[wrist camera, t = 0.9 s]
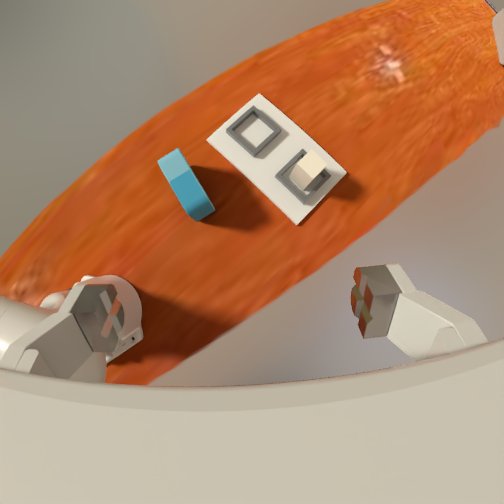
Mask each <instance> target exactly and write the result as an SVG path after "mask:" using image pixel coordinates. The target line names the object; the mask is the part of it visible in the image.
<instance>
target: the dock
mask: <svg viewBox="0 0 504 504" xmlns="http://www.w3.org/2000/svg"><path fill="white" fill-rule="evenodd" d="M207 142H208V143H209V144H211V145H212V146H213V147H214V148H215V149H216V150H217V151H218V152H219V153H220V154H222V155H223V156H224V157H225V158H226V159H227V160H228V161H229V162H230V163H231V164H232V165H234V166H235V167H236V168H237V169H238V170H239V171H240V172H241V173H242V174H243V175H244V176H245V177H246V178H248V179H249V180H250V181H251V182H252V183H253V184H254V185H255V186H256V187H257V188H258V189H259V190H260V191H261V192H262V193H263V194H264V195H266V196H267V197H268V198H269V199H270V200H271V201H272V202H273V203H274V204H275V205H276V206H277V207H278V208H279V209H280V210H281V211H282V212H283V213H284V214H285V215H286V216H287V217H288V218H289V219H290V220H291V221H292V222H293V223H294V224H296V225H298V224H299V222H300V221H301V220H302V219H303V218H304V217H305V216H306V215H307V214H308V213H309V212H310V211H311V210H312V209H313V208H314V207H315V206H316V205H317V204H318V203H319V202H320V200H321V199H322V198H323V197H324V196H325V195H326V194H327V193H328V192H329V191H330V190H331V189H332V188H333V187H334V186H335V185H336V184H337V183H338V182H339V180H340V179H341V178H342V177H343V176H344V175H345V174H346V173H347V172H346V171H345V170H344V169H343V168H342V167H341V166H340V165H339V164H338V163H337V162H336V161H335V160H334V159H333V158H332V157H331V156H330V155H329V154H328V153H327V152H326V151H325V150H323V149H322V148H321V147H320V146H319V145H318V144H317V143H316V142H315V141H314V140H313V139H312V138H311V137H309V136H308V135H307V134H306V133H305V132H304V131H303V130H302V129H301V128H299V127H298V126H297V125H296V124H295V123H294V122H293V121H292V120H290V119H289V118H288V117H287V116H286V115H285V114H283V113H282V112H281V111H280V110H279V109H278V108H276V107H275V106H274V105H273V104H272V103H270V102H269V101H268V100H267V99H266V98H264V97H263V96H262V95H261V94H258V95H256V96H255V97H254V98H253V99H252V100H251V101H249V102H248V103H247V104H246V105H245V106H244V107H242V108H241V109H240V110H239V111H238V112H237V113H235V114H234V115H233V116H232V117H231V118H230V119H229V120H228V121H226V122H225V123H224V124H223V125H222V126H221V127H220V128H219V129H218V130H216V131H215V132H214V133H213V134H212V135H211V136H210V137H209V138H208V139H207ZM311 149H312V150H313V151H314V152H315V153H316V154H317V155H318V156H320V157H321V158H322V159H323V160H324V161H325V162H326V163H327V164H328V165H327V166H326V167H325V168H324V169H323V170H322V171H321V172H320V173H319V174H318V176H317V177H316V178H315V179H314V180H313V181H312V182H311V183H310V184H309V185H308V186H307V187H306V188H305V189H304V190H302V189H301V188H300V187H299V186H298V185H297V184H295V183H294V182H293V181H292V180H291V179H290V178H289V176H290V174H291V172H292V171H293V169H294V167H295V165H296V164H297V163H298V162H299V161H300V160H301V159H302V158H303V157H304V156H305V155H306V154H307V153H308V152H309V151H310V150H311Z"/></svg>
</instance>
